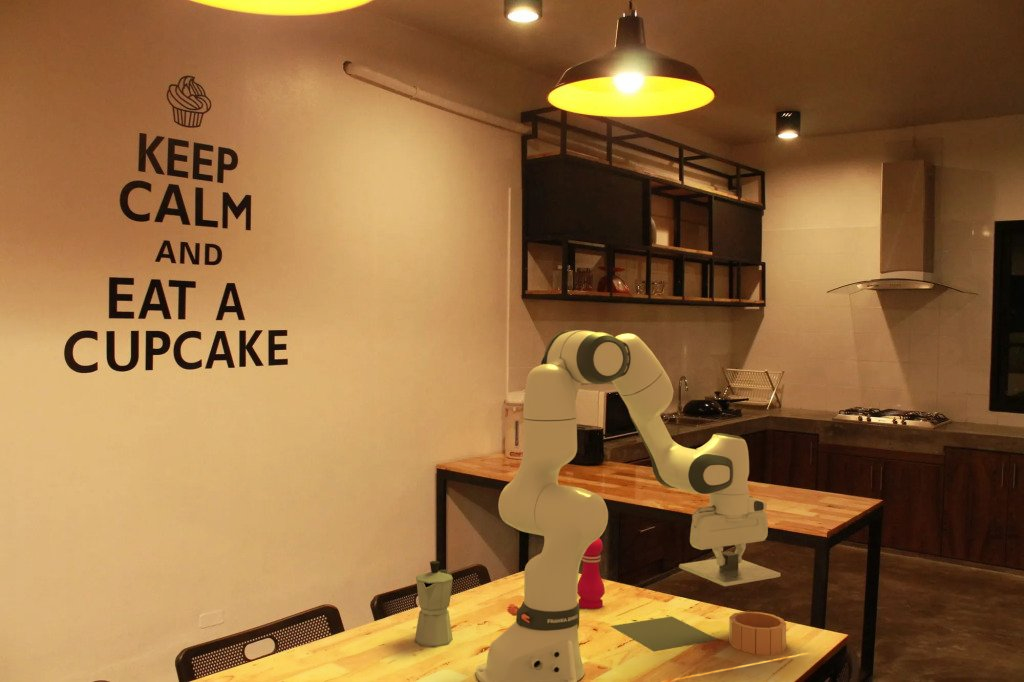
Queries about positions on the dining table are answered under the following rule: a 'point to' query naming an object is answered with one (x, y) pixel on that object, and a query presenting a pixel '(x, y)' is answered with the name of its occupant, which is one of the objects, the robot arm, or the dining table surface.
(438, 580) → the coffee maker
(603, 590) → the pepper mill
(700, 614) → the dining table surface
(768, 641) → the bowl
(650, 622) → the rubber mat
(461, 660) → the dining table surface
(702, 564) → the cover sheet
